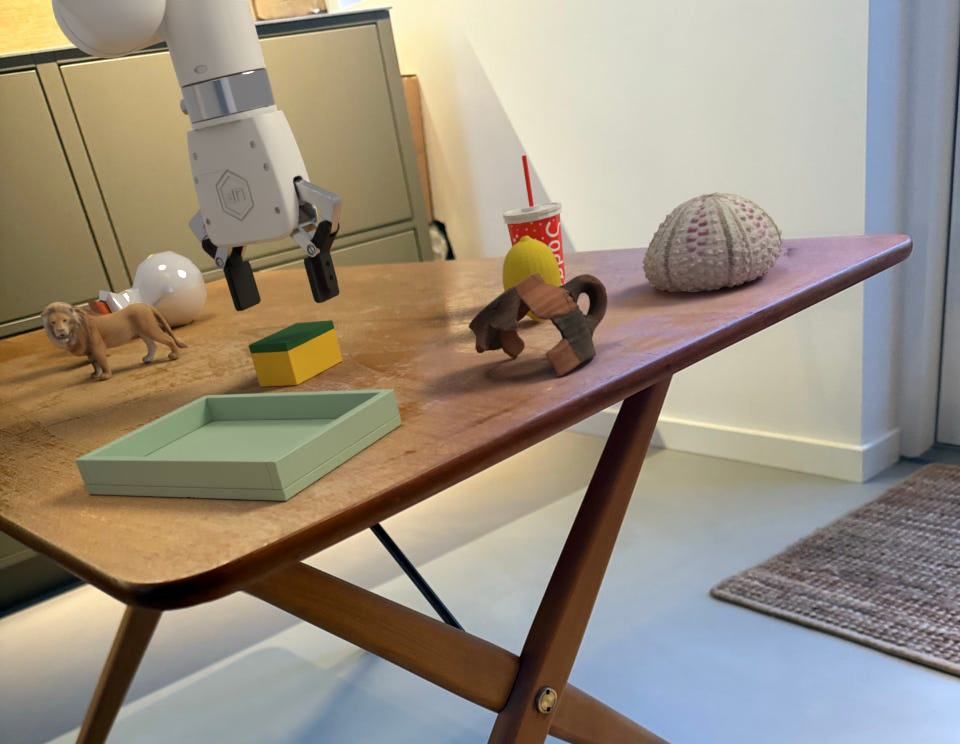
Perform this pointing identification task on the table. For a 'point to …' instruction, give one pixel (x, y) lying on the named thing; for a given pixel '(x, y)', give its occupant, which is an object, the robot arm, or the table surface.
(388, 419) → the tray
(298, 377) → the sponge
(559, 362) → the brown piece
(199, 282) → the potion bottle
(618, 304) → the table surface
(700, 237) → the sea urchin shell
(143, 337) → the lion figurine
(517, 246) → the lemon
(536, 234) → the beverage cup
